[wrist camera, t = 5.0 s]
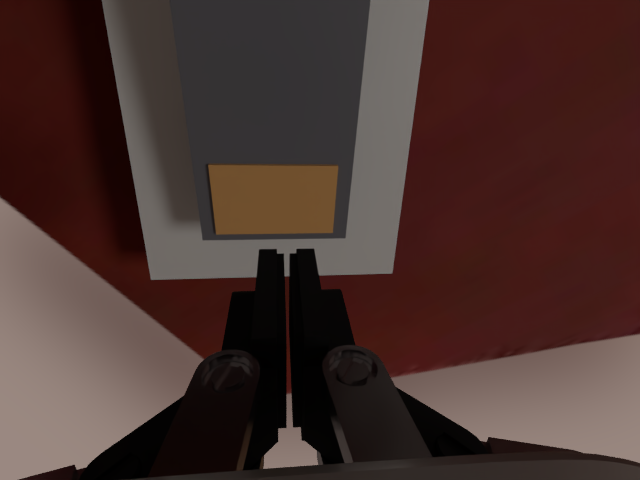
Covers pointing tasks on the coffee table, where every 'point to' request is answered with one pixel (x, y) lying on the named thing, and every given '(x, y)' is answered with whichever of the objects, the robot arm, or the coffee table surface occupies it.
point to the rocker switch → (271, 112)
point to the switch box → (176, 165)
